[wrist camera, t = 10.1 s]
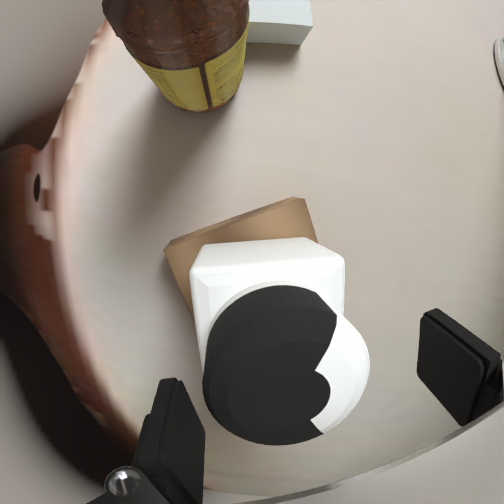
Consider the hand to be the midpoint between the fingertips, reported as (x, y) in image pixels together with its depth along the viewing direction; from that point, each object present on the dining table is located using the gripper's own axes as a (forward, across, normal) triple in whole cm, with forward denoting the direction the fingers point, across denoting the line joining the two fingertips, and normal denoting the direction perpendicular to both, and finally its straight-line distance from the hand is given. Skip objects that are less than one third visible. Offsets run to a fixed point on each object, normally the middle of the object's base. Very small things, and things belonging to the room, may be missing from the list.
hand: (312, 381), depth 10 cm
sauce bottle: (+15, +2, -16) cm, 22 cm away
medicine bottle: (+11, +1, 0) cm, 11 cm away
